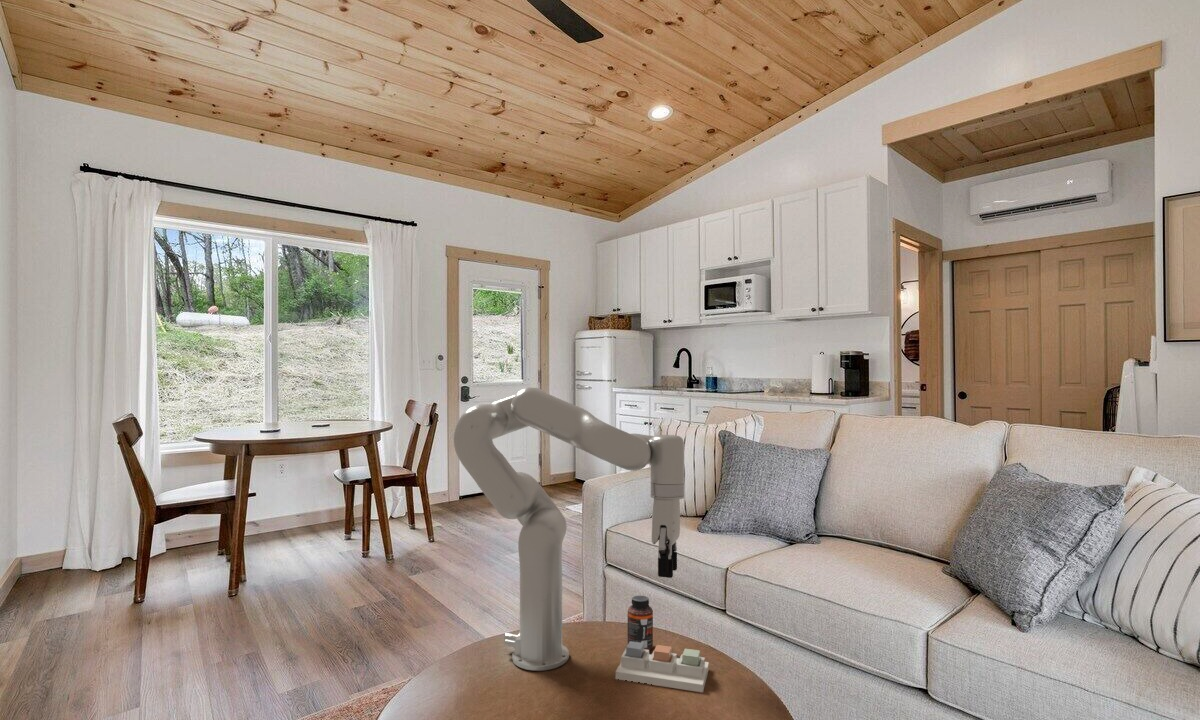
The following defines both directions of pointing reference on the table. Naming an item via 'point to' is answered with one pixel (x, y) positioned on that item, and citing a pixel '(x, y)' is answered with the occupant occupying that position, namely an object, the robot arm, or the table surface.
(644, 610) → the supplement bottle
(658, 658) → the terracotta button
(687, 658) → the sage button
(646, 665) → the button console
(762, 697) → the table surface
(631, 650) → the slate button
